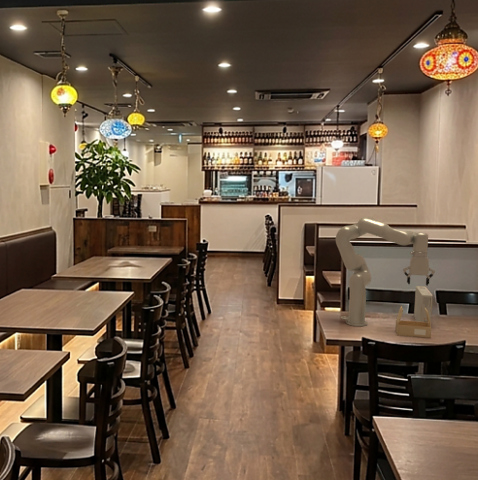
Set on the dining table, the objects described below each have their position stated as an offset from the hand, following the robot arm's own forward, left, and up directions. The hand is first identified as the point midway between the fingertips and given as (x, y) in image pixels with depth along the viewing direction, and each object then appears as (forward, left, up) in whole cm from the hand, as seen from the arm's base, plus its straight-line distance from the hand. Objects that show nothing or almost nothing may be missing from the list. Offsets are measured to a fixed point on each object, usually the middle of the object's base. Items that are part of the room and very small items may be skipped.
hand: (417, 284), depth 301 cm
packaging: (+8, +29, -29) cm, 41 cm away
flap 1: (-10, -1, -22) cm, 24 cm away
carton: (-1, -1, -28) cm, 28 cm away
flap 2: (+7, -1, -22) cm, 23 cm away
